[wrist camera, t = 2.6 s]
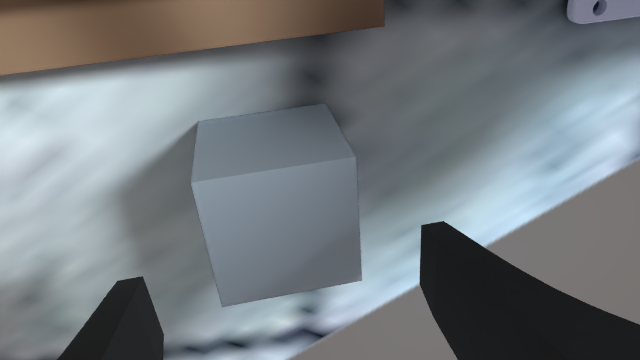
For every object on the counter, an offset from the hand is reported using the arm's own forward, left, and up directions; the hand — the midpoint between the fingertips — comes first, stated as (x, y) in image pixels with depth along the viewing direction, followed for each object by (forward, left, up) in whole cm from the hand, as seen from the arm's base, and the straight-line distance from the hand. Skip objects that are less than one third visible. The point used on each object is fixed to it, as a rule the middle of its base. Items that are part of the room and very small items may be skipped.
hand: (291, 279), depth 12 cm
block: (0, 0, -6) cm, 6 cm away
